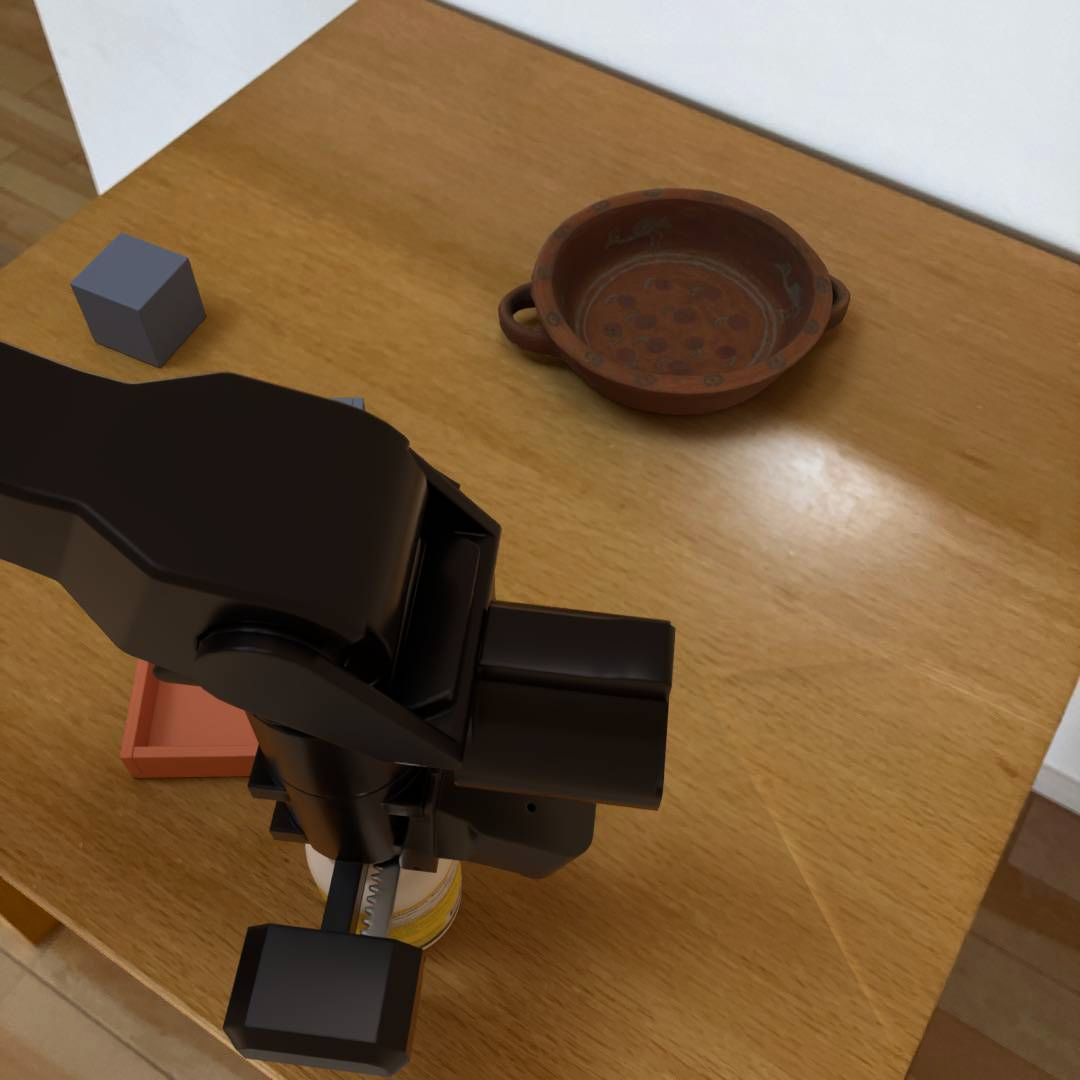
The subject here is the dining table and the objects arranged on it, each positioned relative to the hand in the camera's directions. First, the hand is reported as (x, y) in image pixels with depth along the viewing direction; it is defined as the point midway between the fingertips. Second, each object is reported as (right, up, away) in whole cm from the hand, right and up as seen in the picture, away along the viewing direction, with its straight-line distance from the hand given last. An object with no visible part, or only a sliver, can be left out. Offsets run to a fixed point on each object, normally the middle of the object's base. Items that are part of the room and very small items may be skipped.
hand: (387, 867), depth 51 cm
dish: (+15, +27, +23) cm, 39 cm away
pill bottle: (0, -2, +3) cm, 4 cm away
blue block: (-18, +28, +23) cm, 40 cm away
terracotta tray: (-7, +7, +9) cm, 14 cm away
